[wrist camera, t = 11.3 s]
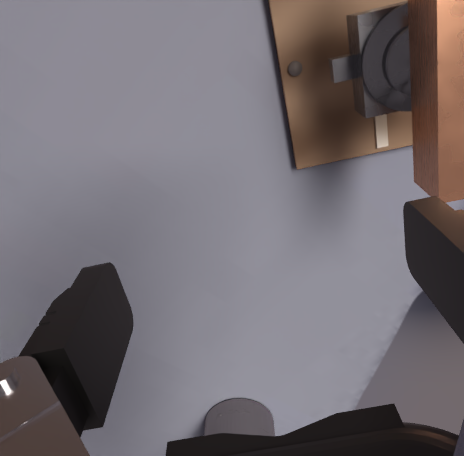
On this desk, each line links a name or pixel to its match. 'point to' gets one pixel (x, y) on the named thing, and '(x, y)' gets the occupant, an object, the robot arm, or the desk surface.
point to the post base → (327, 84)
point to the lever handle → (413, 81)
